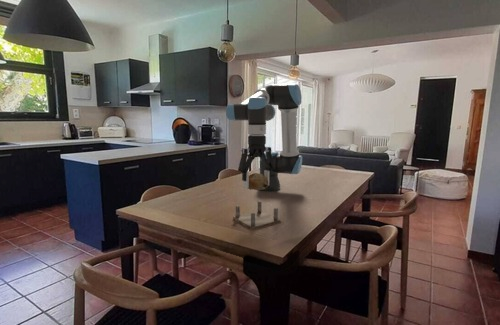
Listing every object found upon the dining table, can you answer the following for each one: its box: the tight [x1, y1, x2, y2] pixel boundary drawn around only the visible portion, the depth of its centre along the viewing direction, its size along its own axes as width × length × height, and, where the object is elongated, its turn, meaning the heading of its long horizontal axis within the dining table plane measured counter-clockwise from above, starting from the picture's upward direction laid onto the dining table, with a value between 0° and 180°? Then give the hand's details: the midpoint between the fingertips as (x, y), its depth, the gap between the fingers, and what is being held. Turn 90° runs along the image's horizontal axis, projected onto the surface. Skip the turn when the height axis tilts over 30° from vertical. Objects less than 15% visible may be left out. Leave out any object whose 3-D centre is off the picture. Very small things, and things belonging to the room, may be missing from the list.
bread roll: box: [243, 172, 268, 191], centre depth 121 cm, size 10×10×8 cm
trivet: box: [232, 200, 281, 231], centre depth 123 cm, size 15×15×6 cm
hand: (256, 186), depth 121 cm, fingers closed on bread roll, 10 cm apart
